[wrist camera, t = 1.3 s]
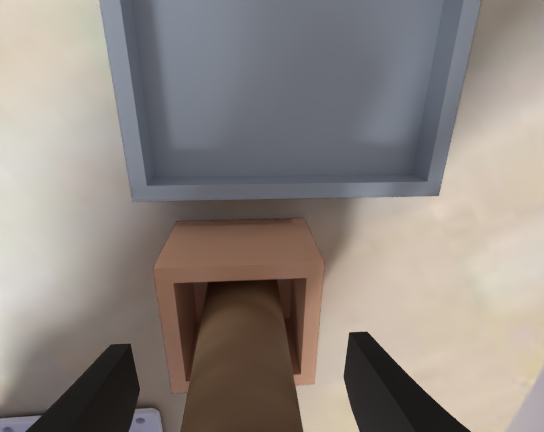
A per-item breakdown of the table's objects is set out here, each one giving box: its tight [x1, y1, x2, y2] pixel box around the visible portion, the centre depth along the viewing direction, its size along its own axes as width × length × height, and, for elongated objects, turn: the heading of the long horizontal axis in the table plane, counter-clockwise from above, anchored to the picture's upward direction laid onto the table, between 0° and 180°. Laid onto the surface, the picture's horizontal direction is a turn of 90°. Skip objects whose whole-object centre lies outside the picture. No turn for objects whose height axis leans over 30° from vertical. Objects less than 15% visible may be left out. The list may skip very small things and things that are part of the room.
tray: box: [99, 0, 481, 202], centre depth 11 cm, size 12×10×2 cm
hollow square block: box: [153, 218, 325, 393], centre depth 14 cm, size 6×6×4 cm
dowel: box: [181, 279, 303, 432], centre depth 11 cm, size 3×3×8 cm
